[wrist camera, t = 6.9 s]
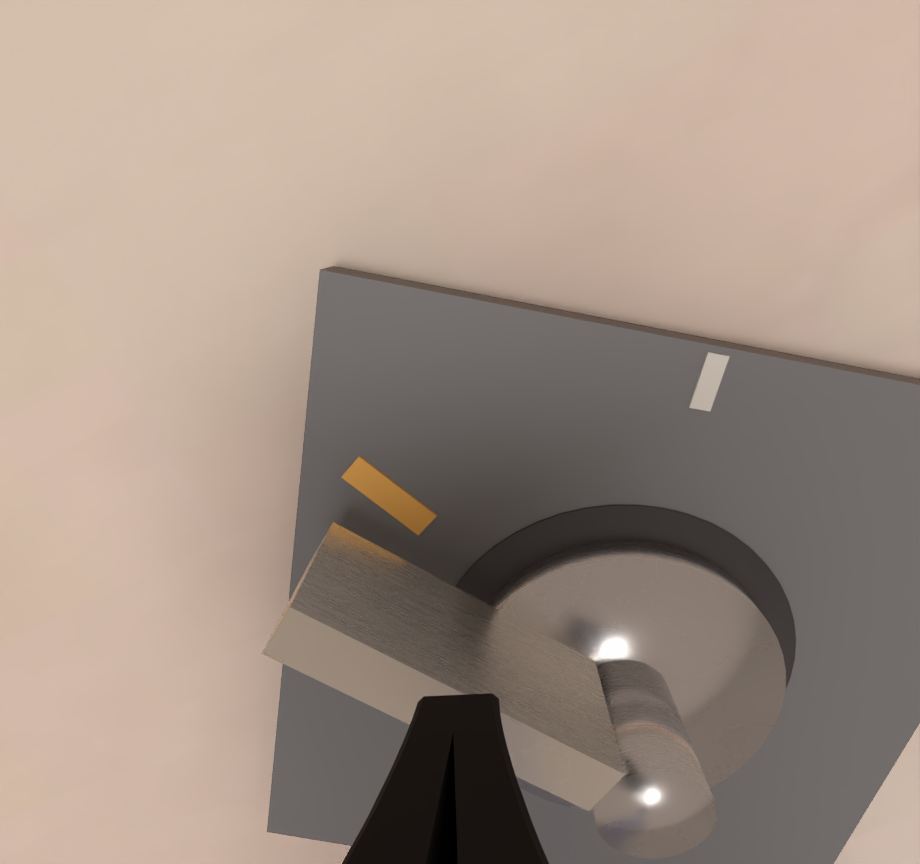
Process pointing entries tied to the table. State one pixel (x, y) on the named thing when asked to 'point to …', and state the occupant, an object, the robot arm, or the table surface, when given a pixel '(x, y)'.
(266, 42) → the table surface
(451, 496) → the dial plate
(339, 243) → the table surface
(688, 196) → the table surface
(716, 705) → the dial
